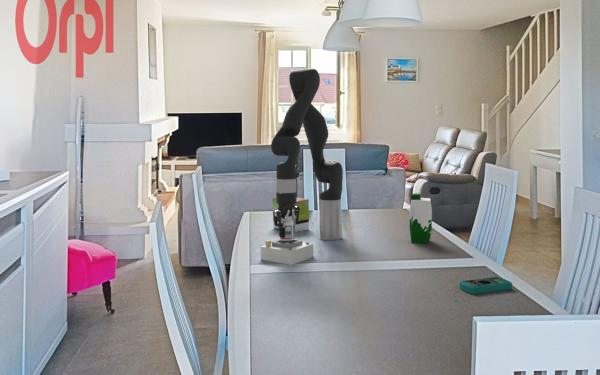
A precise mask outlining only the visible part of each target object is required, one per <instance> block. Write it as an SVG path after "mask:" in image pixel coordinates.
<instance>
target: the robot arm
mask: <svg viewBox="0 0 600 375" xmlns="http://www.w3.org/2000/svg"><path fill="white" fill-rule="evenodd" d="M288 79H289V81H288V82H289V86H290V89H291V92H292V95H293V97H294V100H295V102H294V103H293V104H291V106H289V108H288V110H287V112H286V114H285V116H284V118H283V121H282V125H281V127H280V128H279V129H278V131H277V132H276V134H275V135H274V137H273V138H272V140H271V145H270V149H271V152H272V154H273V155H275V156H279V157H287V159H286V161H282V162H279V163H277V164H276V181H275V182H276V183H275V186H276V187H275V191H276V192H275V198H276V203H277V204H278V205H279V207H278V210H277V211H273V210H272V216H273V217H274V224H275V226H277V227H279V229H278V236H279V238H280V237H282V238H284V237H285V228H284V227H285V223H286V222H287V219H288V217H289V216H292V222H293V223H294V235H295V234H296V232H295V224H296V222H298V220H299V211H300V207H298V206H295V205H294V204H295V203H296V202H297V198H298V196H297V180H296V171H297V170H296V166H297V161H298V157H299V153H300V150H301V142H300V141H299V138H297V136H298V135H300V134H301V133H300V132H301V129H302V126H303V130H304V134H305V136H306V139H307V143H308V146H309V151H310V155H311V160H312V164H313V170H314V175H315V178H316V180H317V181H318V182H319V183H322V184H329V188H328V189H326V190H323V191H321V192H319V239H320V240H324V241H337V240H338V241H339V240H341V239H342V237H343V224H342V223H343V219H342V218H343V216H342V192H343V177H344V176H343V174H344V170H343V166H342V164H341V163H340V162H339V161H326V159H325V156H324V149H325V146H326V143H327V141H328V138H329V130H328V129H329V128H328V126H327V122H326V118H325V116H324V115H323V114H322V112H320V110H318V108H316V107H315V106H314V105H313V103H312V102H313V100H314V98H315V96H316V94H317V92H318V90H319V88H320V84H321V76H320V73H319V72H318V70H317V69H315V68H301V69H295V70H291V71H290V74H289V78H288ZM295 215H296V219H295ZM281 217H282V218H284V219H281ZM277 221H278V223H277ZM282 221H283V223H282Z"/></svg>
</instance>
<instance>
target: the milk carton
mask: <svg viewBox="0 0 600 375" xmlns="http://www.w3.org/2000/svg"><path fill="white" fill-rule="evenodd" d="M409 200H410V205H409V235H410V242H411V244H428V245H429V244H430V240H431V235H432V227H433V226H432V225H433V223H432V222H433V210H432V209H433V208H432V202H431V200H432V199H431V198H430V197H422V195H421V193H411V194H410V198H409Z"/></svg>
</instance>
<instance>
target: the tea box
mask: <svg viewBox="0 0 600 375" xmlns="http://www.w3.org/2000/svg"><path fill="white" fill-rule="evenodd" d="M309 200H310V199H308V198H303V197H297V202H296V203H295V204H294V205H295V206H298V207H300V211H299V220H298V222H296V224H295V233H298V231H300V232H304V231H303V230H305V231H308V230H310V210H309V209H310V203H309V202H310V201H309ZM278 207H279V205H278V204H277V203H276V197H272V212H273V211H277V210H278ZM295 219H296V215H295ZM272 221H273V228H274V229H278V230H279V227H277V226H275V224H274V217H273V218H272ZM277 223H278V221H277Z"/></svg>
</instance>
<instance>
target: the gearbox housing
mask: <svg viewBox="0 0 600 375" xmlns="http://www.w3.org/2000/svg"><path fill="white" fill-rule="evenodd" d="M312 258H314V243H310V242H308V241H307V242H303V240H301V239H295V238H294V240H291V241H282V240H280V239H278V240H274V241H272V240H270V239H269V240H267V239H266V240H265V244H264V245H262V246H260V261H267V262H272V263H273V262H274V263H278V264H285V265H289V266H291V265H295V264H298V263H301V262H303V261H306V260H309V259H312Z"/></svg>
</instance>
